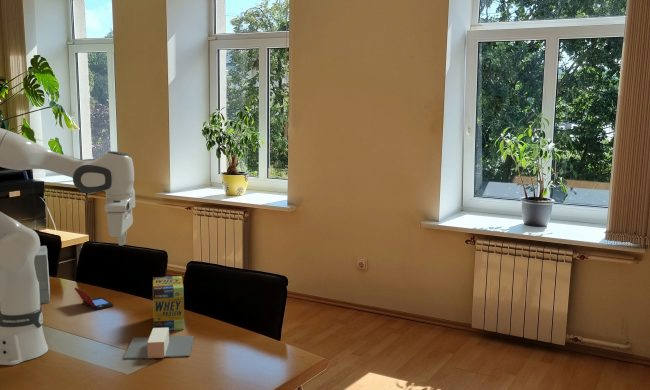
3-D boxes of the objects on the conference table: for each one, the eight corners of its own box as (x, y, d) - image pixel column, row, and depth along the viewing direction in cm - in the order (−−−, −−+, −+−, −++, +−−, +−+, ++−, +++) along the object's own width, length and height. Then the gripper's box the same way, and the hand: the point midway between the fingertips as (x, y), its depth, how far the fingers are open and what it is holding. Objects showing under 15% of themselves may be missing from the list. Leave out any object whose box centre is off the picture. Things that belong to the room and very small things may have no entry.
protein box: (153, 332, 206) (152, 289, 204) (154, 317, 220) (152, 276, 218) (184, 330, 209) (183, 287, 206) (183, 315, 223) (182, 275, 221)
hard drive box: (29, 294, 245) (26, 246, 242) (49, 291, 248) (47, 245, 245) (28, 305, 231) (25, 255, 228) (50, 303, 234) (47, 253, 231)
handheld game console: (114, 307, 231) (114, 288, 230) (87, 313, 224) (86, 294, 223) (101, 299, 241) (100, 281, 239) (74, 305, 233) (73, 286, 232)
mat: (123, 359, 184) (123, 357, 184) (133, 339, 200) (133, 337, 199) (189, 356, 186) (189, 355, 186) (193, 337, 202) (193, 335, 202)
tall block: (147, 342, 183) (153, 328, 195) (147, 358, 184) (153, 342, 196) (163, 342, 184) (168, 327, 196) (164, 357, 184) (169, 341, 197)
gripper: (117, 197, 200) (118, 237, 202) (103, 207, 180) (104, 252, 182) (136, 197, 201) (138, 237, 203) (124, 207, 181) (126, 251, 183)
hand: (122, 244), depth 192 cm, fingers closed
